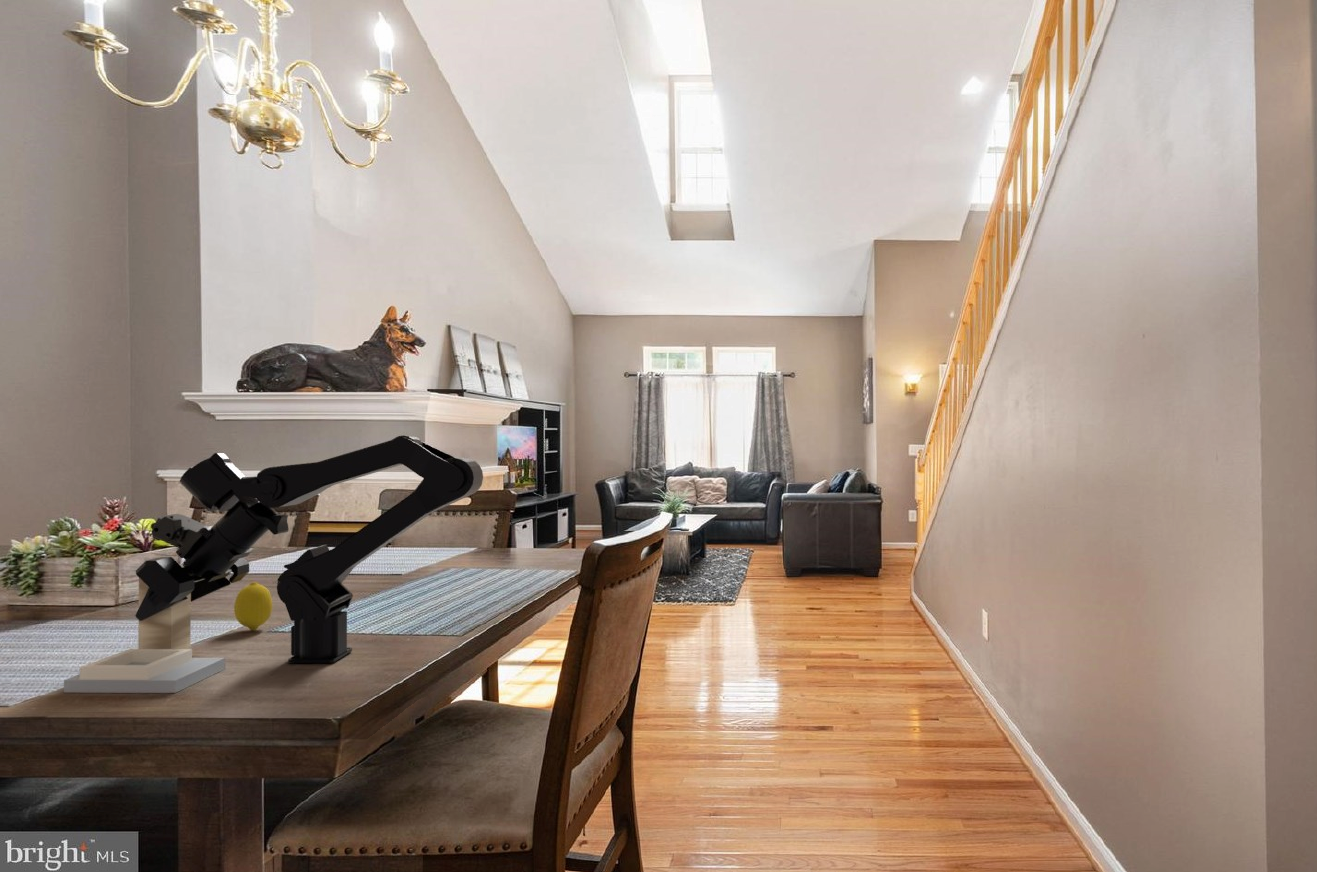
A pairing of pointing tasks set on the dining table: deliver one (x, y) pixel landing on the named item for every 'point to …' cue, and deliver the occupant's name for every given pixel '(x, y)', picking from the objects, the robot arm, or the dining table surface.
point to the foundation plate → (144, 672)
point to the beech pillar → (165, 625)
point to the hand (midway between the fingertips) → (155, 612)
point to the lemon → (253, 606)
